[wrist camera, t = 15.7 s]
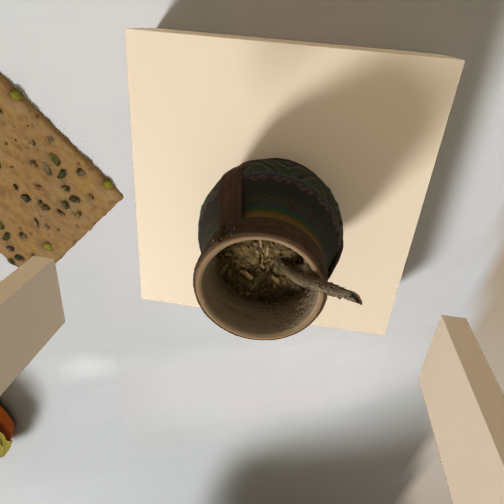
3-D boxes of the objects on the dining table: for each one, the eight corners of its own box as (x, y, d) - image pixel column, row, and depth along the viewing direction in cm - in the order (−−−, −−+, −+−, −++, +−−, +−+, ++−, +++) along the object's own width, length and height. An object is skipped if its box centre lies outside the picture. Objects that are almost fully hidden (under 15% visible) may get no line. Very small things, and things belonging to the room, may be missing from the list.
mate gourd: (186, 184, 24) (112, 291, 15) (303, 111, 21) (291, 193, 12) (256, 277, 26) (226, 411, 18) (368, 224, 23) (396, 354, 15)
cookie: (40, 281, 35) (33, 287, 34) (-88, 171, 32) (-99, 175, 31) (129, 195, 30) (124, 200, 29) (-12, 54, 27) (-23, 55, 26)
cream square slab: (375, 291, 31) (384, 335, 27) (165, 261, 33) (141, 298, 28) (438, 53, 23) (465, 60, 19) (159, 27, 25) (125, 28, 20)
